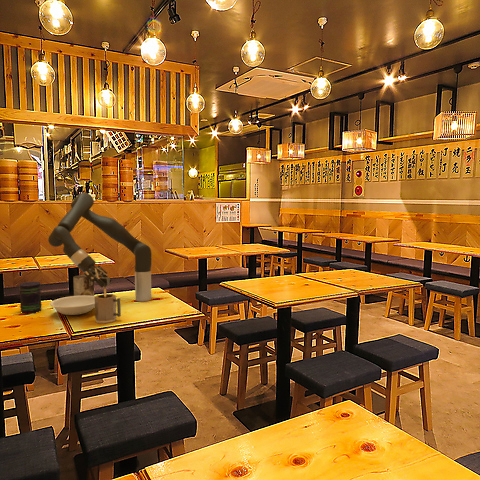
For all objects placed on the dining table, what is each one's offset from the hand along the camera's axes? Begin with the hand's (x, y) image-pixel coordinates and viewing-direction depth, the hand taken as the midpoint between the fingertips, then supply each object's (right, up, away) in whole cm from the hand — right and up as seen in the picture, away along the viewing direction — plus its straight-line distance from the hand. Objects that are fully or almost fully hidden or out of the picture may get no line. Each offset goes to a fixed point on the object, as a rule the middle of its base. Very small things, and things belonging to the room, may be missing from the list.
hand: (107, 284), depth 187 cm
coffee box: (-24, -15, +33) cm, 43 cm away
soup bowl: (-21, -17, +14) cm, 30 cm away
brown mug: (0, -18, +2) cm, 18 cm away
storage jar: (-46, -16, +17) cm, 51 cm away
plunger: (-1, -15, +2) cm, 15 cm away
